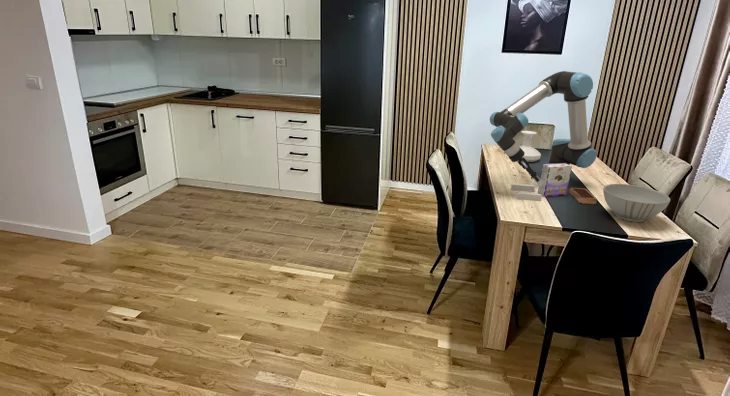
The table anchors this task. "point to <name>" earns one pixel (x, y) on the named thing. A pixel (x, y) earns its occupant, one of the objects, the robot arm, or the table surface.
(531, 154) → the candle holder
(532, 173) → the robot arm
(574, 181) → the table surface
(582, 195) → the tray
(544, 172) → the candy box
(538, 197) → the walled channel
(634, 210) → the decorative bowl
